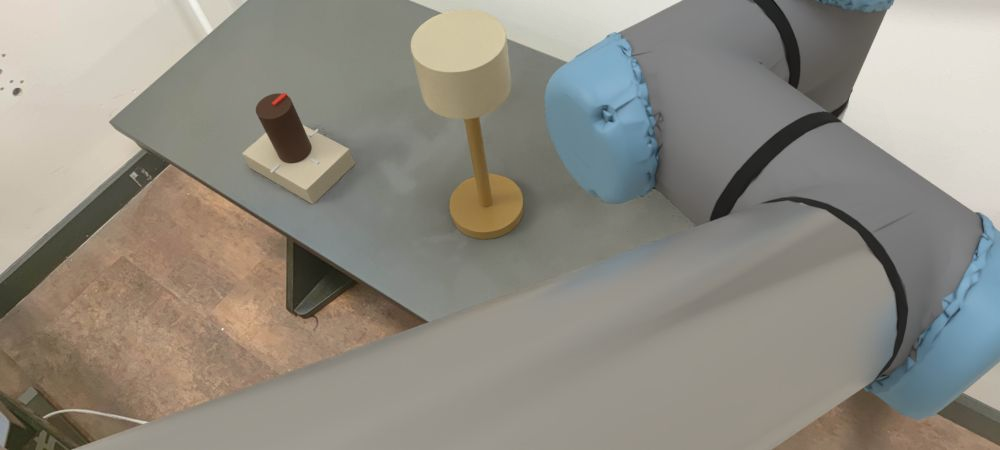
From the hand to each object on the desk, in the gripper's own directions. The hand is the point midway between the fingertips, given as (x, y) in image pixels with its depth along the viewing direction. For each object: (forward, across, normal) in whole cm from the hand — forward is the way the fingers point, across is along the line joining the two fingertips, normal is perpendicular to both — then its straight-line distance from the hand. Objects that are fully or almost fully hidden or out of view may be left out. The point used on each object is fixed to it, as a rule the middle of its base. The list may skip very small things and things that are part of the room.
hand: (714, 311), depth 65 cm
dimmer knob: (+6, +3, -56) cm, 56 cm away
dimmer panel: (+9, +3, -56) cm, 56 cm away
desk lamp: (+9, -4, -30) cm, 32 cm away
